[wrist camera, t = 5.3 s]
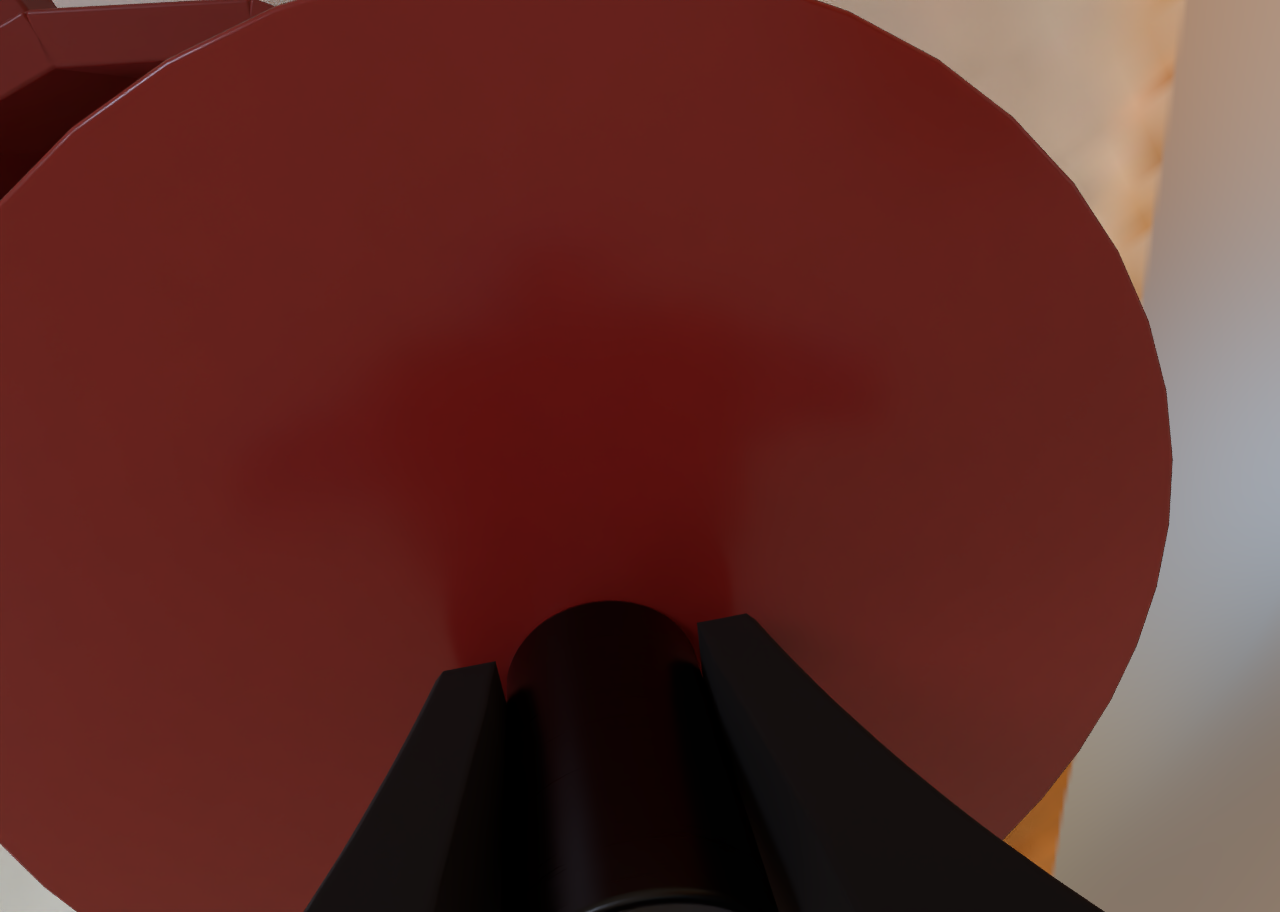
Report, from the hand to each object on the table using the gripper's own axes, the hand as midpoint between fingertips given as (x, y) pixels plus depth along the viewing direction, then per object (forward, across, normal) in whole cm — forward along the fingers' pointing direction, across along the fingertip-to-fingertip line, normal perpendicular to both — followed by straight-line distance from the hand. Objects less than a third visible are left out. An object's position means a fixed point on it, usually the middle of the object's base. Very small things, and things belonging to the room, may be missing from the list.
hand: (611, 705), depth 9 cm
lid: (+1, 0, 0) cm, 1 cm away
